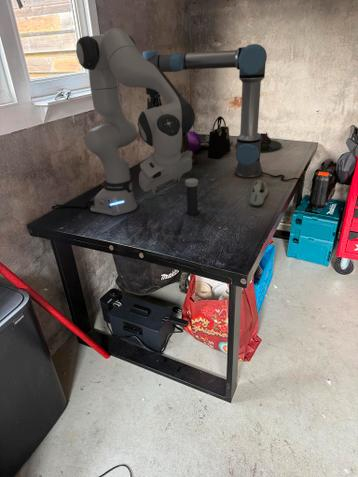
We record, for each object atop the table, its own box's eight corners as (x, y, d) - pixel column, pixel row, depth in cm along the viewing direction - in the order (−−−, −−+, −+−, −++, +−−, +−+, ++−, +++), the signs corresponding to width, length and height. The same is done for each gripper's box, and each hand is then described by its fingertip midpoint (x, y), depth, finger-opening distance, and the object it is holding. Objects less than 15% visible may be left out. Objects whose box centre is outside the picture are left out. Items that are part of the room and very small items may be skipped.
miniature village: (250, 138, 260) (251, 126, 256) (289, 145, 237) (291, 132, 233) (223, 147, 242) (223, 134, 237) (263, 155, 219) (264, 141, 215)
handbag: (218, 159, 217) (218, 119, 204) (206, 157, 221) (205, 119, 209) (231, 151, 232) (232, 114, 219) (219, 150, 236) (220, 113, 224)
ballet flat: (269, 188, 169) (270, 173, 165) (265, 208, 149) (266, 191, 145) (252, 187, 171) (253, 172, 167) (246, 206, 151) (247, 190, 147)
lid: (187, 181, 145) (187, 178, 144) (199, 182, 144) (199, 178, 143) (183, 186, 141) (183, 182, 140) (196, 187, 139) (195, 183, 138)
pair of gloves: (198, 151, 236) (198, 144, 233) (184, 143, 256) (183, 137, 254) (234, 145, 246) (235, 137, 243) (218, 138, 266) (218, 131, 263)
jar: (189, 210, 152) (188, 179, 144) (199, 211, 150) (198, 180, 143) (186, 214, 148) (184, 183, 140) (196, 215, 147) (195, 183, 139)
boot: (197, 157, 223) (197, 126, 213) (191, 168, 203) (190, 135, 193) (185, 157, 225) (183, 126, 215) (178, 168, 205) (176, 135, 195)
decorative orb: (204, 151, 235) (204, 129, 228) (194, 156, 225) (193, 134, 217) (186, 149, 243) (186, 128, 235) (175, 154, 232) (174, 132, 224)
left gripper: (187, 142, 113) (184, 169, 125) (135, 166, 107) (137, 191, 119) (197, 154, 111) (193, 180, 123) (145, 179, 104) (146, 204, 116)
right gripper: (153, 83, 178) (157, 124, 189) (137, 88, 157) (141, 134, 168) (167, 82, 176) (169, 123, 187) (151, 88, 156) (155, 134, 166)
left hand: (165, 186), depth 121 cm, fingers open, 8 cm apart
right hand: (156, 128), depth 177 cm, fingers open, 13 cm apart
